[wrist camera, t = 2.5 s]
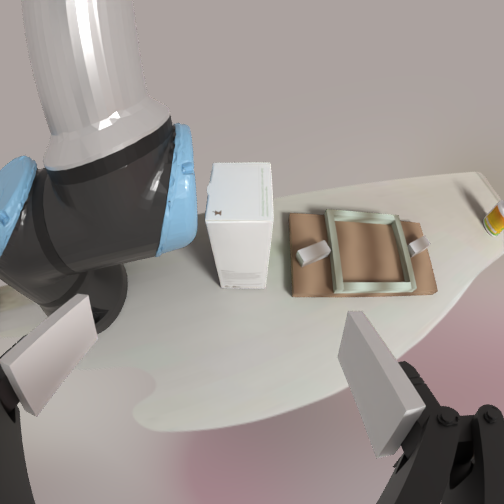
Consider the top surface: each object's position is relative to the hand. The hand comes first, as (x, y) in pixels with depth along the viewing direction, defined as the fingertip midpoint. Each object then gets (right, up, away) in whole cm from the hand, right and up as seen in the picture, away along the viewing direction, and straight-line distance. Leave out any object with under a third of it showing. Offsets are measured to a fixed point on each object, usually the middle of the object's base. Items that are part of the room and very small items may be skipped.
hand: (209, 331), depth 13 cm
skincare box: (+1, +2, +27) cm, 27 cm away
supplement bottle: (+57, +9, +32) cm, 67 cm away
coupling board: (+20, +3, +28) cm, 34 cm away
